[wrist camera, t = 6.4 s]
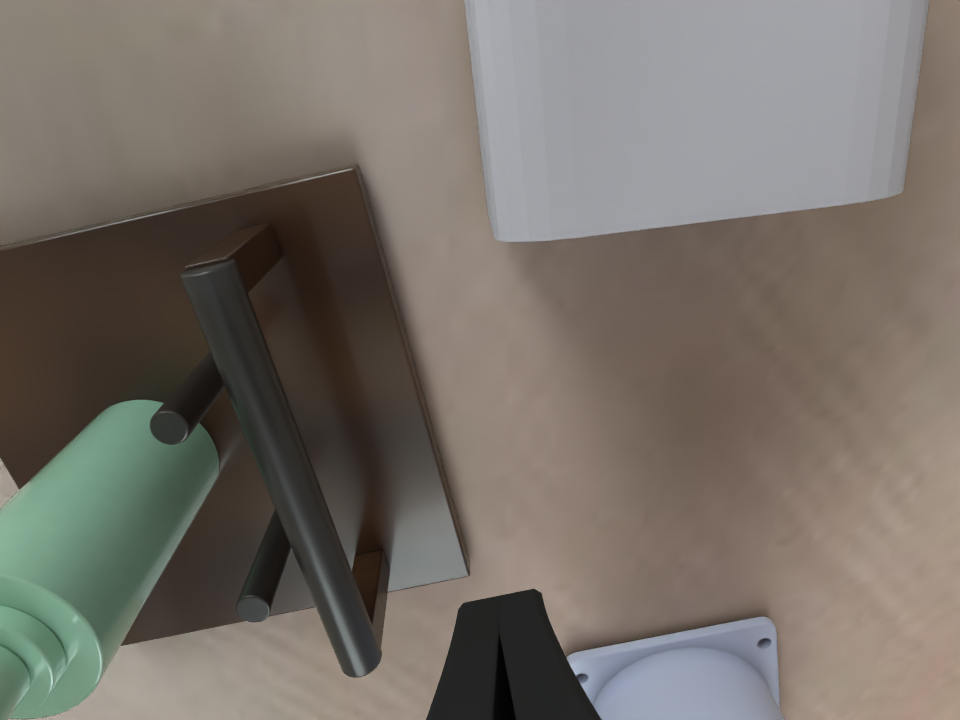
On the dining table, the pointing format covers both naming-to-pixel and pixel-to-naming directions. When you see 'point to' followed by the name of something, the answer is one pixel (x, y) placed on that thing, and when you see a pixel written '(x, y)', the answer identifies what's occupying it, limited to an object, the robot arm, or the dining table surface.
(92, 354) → the rack
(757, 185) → the charger
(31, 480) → the bottle
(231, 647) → the dining table surface
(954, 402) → the dining table surface
